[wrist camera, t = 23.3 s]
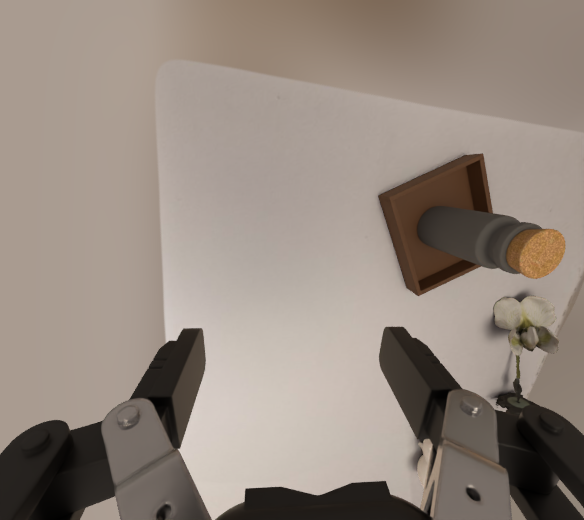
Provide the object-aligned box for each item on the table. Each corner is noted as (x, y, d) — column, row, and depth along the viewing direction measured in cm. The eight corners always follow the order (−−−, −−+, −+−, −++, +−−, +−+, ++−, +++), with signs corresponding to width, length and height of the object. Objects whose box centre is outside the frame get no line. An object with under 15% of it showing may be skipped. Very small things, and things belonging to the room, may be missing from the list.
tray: (378, 195, 37) (389, 197, 34) (465, 155, 37) (483, 153, 34) (406, 288, 42) (418, 296, 39) (483, 251, 42) (500, 257, 39)
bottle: (461, 223, 39) (581, 249, 25) (432, 253, 40) (534, 296, 26) (438, 196, 38) (553, 208, 23) (408, 229, 38) (503, 259, 24)
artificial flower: (475, 398, 53) (508, 442, 44) (481, 288, 49) (518, 309, 39) (526, 399, 52) (571, 444, 42) (536, 286, 48) (589, 307, 38)
